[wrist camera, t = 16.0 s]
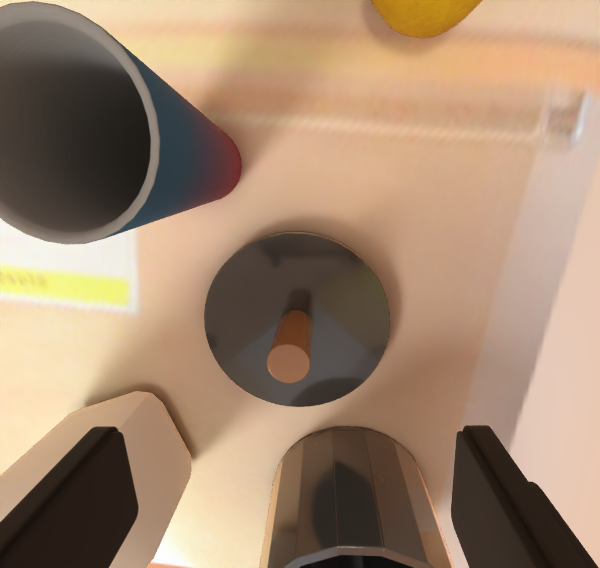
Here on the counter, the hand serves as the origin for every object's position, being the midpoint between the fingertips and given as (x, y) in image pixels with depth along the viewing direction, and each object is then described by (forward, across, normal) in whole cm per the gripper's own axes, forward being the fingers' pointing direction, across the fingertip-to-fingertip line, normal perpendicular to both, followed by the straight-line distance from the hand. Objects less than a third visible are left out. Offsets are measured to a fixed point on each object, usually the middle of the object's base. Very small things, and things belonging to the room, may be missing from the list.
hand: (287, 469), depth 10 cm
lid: (+17, +1, +2) cm, 18 cm away
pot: (+18, -2, +19) cm, 26 cm away
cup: (+18, +7, -10) cm, 22 cm away
